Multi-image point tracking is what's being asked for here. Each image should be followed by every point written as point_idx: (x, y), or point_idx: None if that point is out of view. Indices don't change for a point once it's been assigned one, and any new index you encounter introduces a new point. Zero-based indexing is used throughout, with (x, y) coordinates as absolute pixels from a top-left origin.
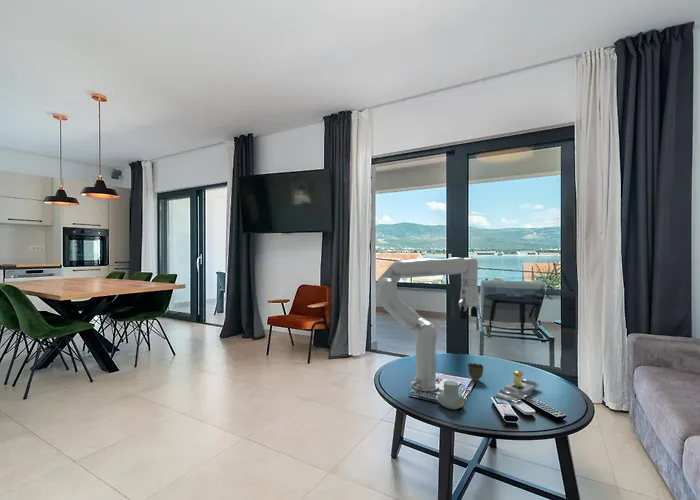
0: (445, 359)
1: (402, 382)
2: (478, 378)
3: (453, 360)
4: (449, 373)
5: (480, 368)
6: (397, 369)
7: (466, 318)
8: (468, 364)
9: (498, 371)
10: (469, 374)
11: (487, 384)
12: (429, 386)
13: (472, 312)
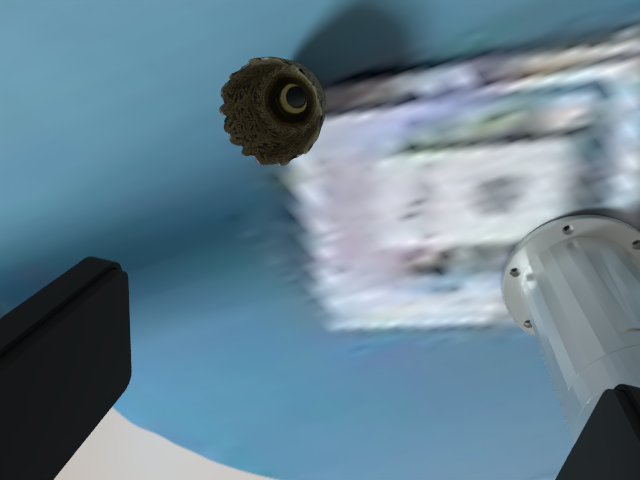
0: None
1: None
2: (302, 76)
3: None
4: (289, 251)
5: (296, 66)
6: (414, 453)
7: (636, 394)
8: (282, 162)
9: (46, 42)
10: (306, 136)
11: (306, 13)
12: (633, 255)
13: (69, 420)
